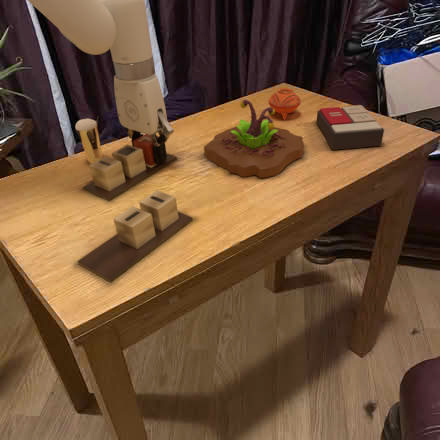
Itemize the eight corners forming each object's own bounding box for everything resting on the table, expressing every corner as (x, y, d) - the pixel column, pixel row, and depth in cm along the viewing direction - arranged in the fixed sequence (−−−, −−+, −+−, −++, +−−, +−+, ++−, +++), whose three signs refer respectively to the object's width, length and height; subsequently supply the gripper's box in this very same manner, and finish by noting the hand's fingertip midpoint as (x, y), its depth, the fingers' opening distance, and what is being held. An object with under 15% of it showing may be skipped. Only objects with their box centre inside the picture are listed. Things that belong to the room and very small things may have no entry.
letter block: (136, 160, 94) (132, 140, 90) (151, 152, 96) (147, 132, 93) (151, 165, 91) (147, 145, 88) (165, 157, 94) (162, 137, 91)
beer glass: (107, 165, 94) (95, 120, 87) (83, 166, 94) (70, 121, 87) (111, 155, 97) (100, 111, 90) (88, 156, 98) (75, 112, 91)
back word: (83, 189, 87) (75, 166, 84) (151, 150, 98) (147, 128, 95) (109, 201, 84) (103, 177, 80) (177, 159, 94) (173, 136, 91)
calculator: (363, 103, 102) (385, 126, 90) (360, 121, 104) (381, 146, 93) (317, 106, 101) (334, 130, 90) (315, 125, 104) (331, 150, 93)
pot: (261, 118, 107) (264, 88, 103) (274, 114, 112) (277, 86, 109) (291, 122, 103) (295, 91, 100) (303, 118, 109) (307, 89, 106)
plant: (247, 126, 104) (246, 78, 97) (316, 147, 95) (322, 95, 87) (190, 158, 94) (185, 107, 86) (261, 186, 84) (262, 130, 77)
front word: (78, 264, 70) (68, 238, 67) (160, 206, 81) (156, 182, 78) (110, 282, 67) (102, 256, 63) (192, 220, 77) (189, 195, 74)
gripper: (89, 67, 83) (111, 155, 95) (153, 82, 75) (168, 175, 87) (118, 56, 87) (135, 142, 99) (181, 69, 79) (191, 160, 92)
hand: (150, 156), depth 93 cm, fingers open, 5 cm apart
